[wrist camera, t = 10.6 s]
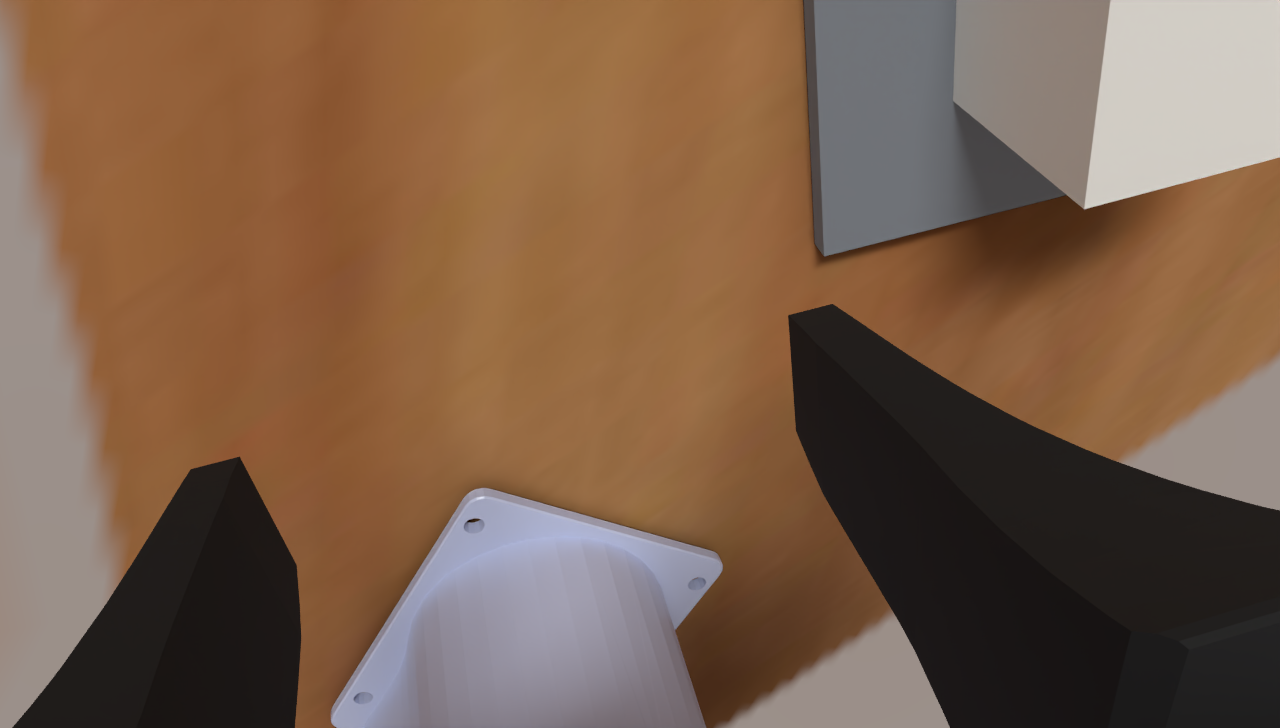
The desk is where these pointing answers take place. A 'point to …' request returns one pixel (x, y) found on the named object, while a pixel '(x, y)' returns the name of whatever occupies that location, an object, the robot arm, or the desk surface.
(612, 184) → the desk surface
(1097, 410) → the desk surface
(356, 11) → the desk surface
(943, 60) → the mat
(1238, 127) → the cube
